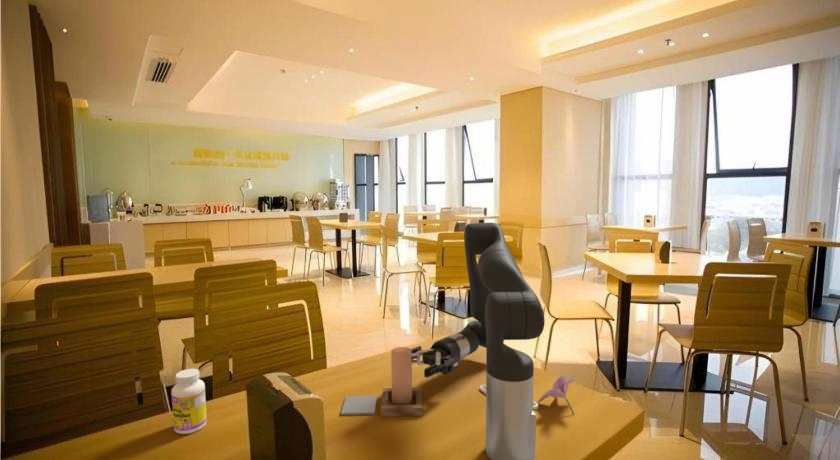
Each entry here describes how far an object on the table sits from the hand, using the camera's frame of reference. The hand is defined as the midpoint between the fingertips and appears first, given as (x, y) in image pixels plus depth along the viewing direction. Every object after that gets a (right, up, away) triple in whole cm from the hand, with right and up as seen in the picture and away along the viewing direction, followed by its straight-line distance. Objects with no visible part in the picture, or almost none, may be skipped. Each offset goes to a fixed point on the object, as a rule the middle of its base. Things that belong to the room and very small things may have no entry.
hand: (412, 369), depth 106 cm
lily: (+36, -8, -3) cm, 37 cm away
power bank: (+24, -8, +1) cm, 26 cm away
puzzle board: (-3, -8, -2) cm, 9 cm away
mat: (-13, -8, -2) cm, 16 cm away
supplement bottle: (-50, -10, -11) cm, 52 cm away
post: (-3, -8, -2) cm, 9 cm away
